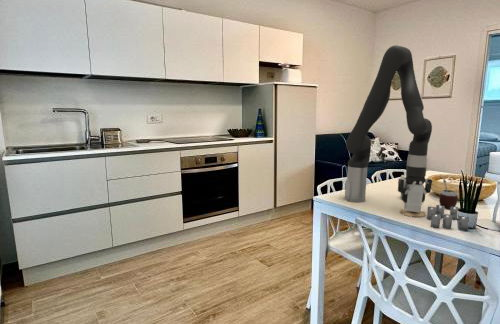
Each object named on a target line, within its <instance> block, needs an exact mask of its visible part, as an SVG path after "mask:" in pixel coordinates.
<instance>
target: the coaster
mask: <svg viewBox="0 0 500 324" xmlns="http://www.w3.org/2000/svg"><path fill="white" fill-rule="evenodd" d="M399 213H400V214H401V215H403V214H404V215H403V216H405V215H407V216H406V217H409V216H412V217H411V218H424V217H425V216H426V213H425V211H422V210H421V212H412V211H406V210H405V209H404V208H402V209H400V210H399Z"/></svg>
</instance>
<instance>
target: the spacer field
mask: <svg viewBox="0 0 500 324" xmlns="http://www.w3.org/2000/svg"><path fill="white" fill-rule="evenodd" d="M444 207H445V206H443V205H440V204H437V205H435V206H430V205H429V206H427V212H426V214H427V215H426V219H427V220H429V221H430V228H432V227H433V229H440V226H441V228H442V227H443V229H444V230H445V229H446V230H451V229H452V224H453V221H458V226H457V230H459V231H462V232H468V230H469V228H468V222H469V217H468V216H467V217H464V216H459V215H458V217H459V219H458V220H457V209H460V206H459V207H458V206H457V205H456V206H451V208H449V209H450V210H449V214H447V213H446V214H445V208H444ZM441 219H442V222H441ZM477 222H478V217H477V218H476V221H475V223H474V226H473V229H472V230H475V229H477ZM441 223H442V225H441Z"/></svg>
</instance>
